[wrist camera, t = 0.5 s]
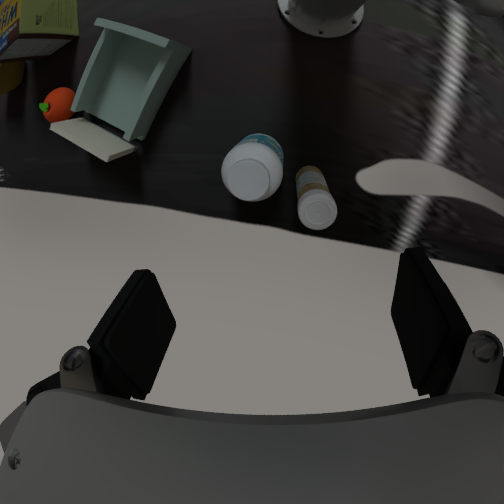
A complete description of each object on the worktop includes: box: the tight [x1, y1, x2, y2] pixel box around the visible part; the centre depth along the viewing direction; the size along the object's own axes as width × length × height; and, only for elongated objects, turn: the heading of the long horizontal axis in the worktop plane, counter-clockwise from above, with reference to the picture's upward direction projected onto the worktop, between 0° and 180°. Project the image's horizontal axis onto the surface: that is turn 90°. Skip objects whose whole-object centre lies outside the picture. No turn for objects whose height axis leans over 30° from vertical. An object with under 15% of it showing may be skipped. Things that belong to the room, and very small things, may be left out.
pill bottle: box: [221, 134, 283, 201], centre depth 35 cm, size 8×7×14 cm
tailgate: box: [50, 117, 138, 162], centre depth 35 cm, size 1×13×9 cm, turn 58°
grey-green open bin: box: [70, 18, 192, 141], centre depth 31 cm, size 17×13×9 cm
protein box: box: [0, 0, 79, 64], centre depth 20 cm, size 10×15×16 cm
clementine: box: [39, 87, 75, 123], centre depth 34 cm, size 8×7×7 cm
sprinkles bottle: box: [295, 166, 337, 230], centre depth 36 cm, size 5×5×14 cm
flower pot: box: [0, 60, 25, 95], centre depth 28 cm, size 9×9×9 cm
